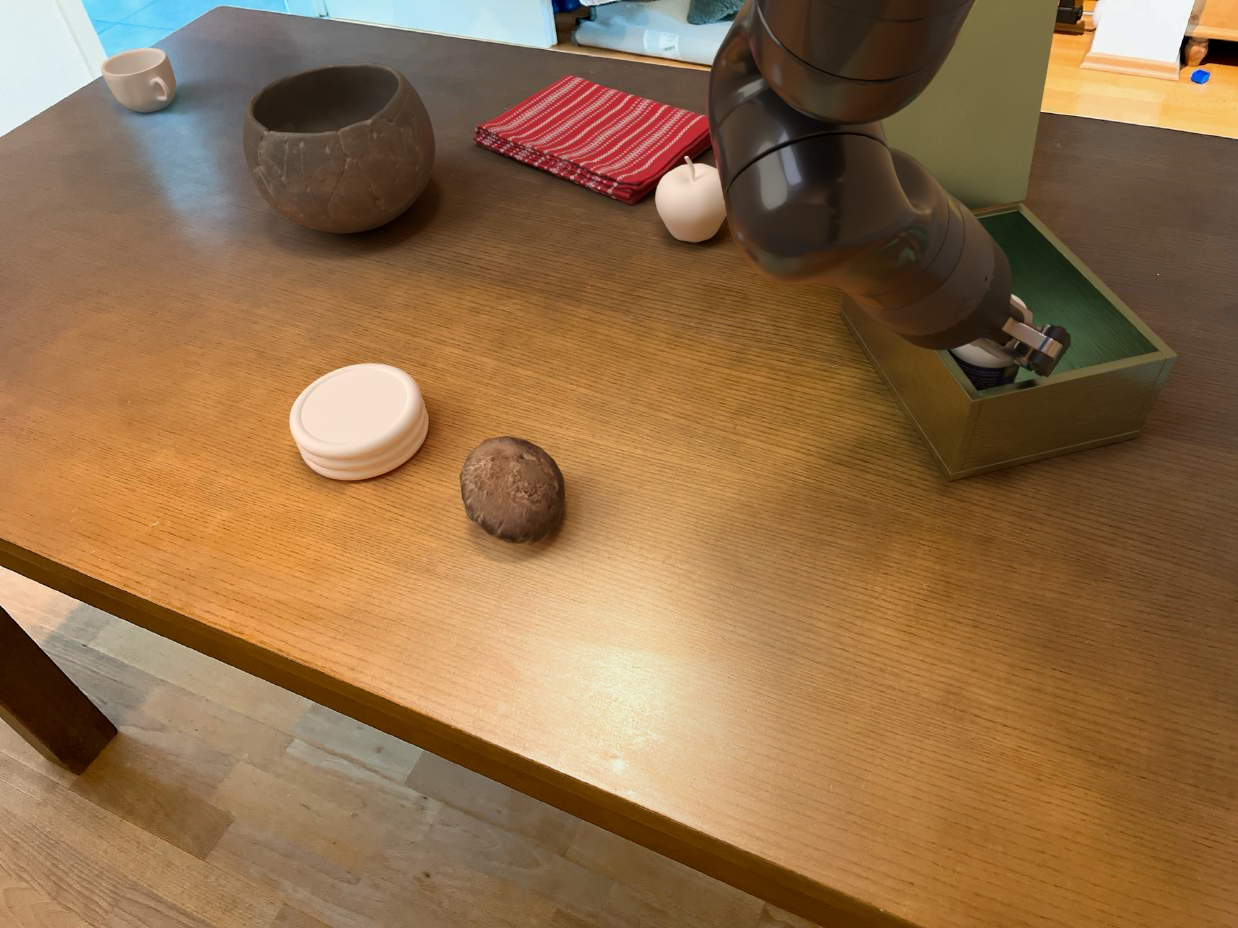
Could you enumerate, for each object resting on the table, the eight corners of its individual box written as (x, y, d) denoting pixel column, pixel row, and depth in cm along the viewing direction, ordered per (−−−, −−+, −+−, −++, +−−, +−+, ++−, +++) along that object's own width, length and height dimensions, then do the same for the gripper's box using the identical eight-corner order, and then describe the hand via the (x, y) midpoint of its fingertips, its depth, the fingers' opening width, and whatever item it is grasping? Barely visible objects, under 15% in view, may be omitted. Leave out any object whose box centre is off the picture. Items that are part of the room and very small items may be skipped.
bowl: (291, 285, 86) (242, 161, 77) (261, 195, 98) (214, 78, 89) (471, 231, 90) (445, 108, 81) (422, 151, 102) (393, 35, 93)
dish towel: (636, 210, 91) (635, 186, 89) (470, 146, 102) (465, 124, 100) (735, 137, 99) (735, 114, 97) (571, 86, 110) (569, 64, 109)
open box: (1137, 438, 66) (1178, 355, 61) (948, 481, 65) (972, 401, 59) (999, 282, 79) (1022, 203, 74) (839, 315, 78) (850, 236, 72)
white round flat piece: (416, 379, 76) (406, 346, 73) (442, 459, 69) (432, 426, 67) (294, 413, 74) (280, 381, 72) (310, 500, 68) (295, 467, 65)
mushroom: (415, 493, 63) (455, 441, 59) (492, 456, 69) (533, 407, 65) (486, 585, 62) (532, 539, 58) (557, 539, 68) (603, 494, 64)
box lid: (1075, -97, 61) (1038, -103, 64) (868, -64, 59) (841, -72, 63) (1025, 200, 73) (996, 182, 77) (852, 234, 72) (831, 214, 75)
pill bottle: (1001, 434, 66) (1034, 338, 60) (926, 419, 68) (950, 324, 61) (1008, 386, 70) (1040, 290, 63) (937, 373, 71) (961, 278, 65)
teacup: (109, 108, 115) (87, 65, 111) (163, 84, 118) (145, 42, 115) (151, 130, 110) (130, 86, 106) (206, 104, 114) (188, 61, 110)
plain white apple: (645, 224, 89) (641, 147, 83) (711, 205, 91) (712, 128, 85) (674, 261, 85) (672, 183, 79) (743, 241, 86) (747, 163, 80)
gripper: (1081, 262, 47) (1127, 337, 61) (860, 164, 55) (945, 250, 69) (995, 387, 49) (1059, 433, 63) (793, 275, 57) (888, 337, 71)
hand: (999, 337), depth 66 cm, fingers closed on pill bottle, 5 cm apart
